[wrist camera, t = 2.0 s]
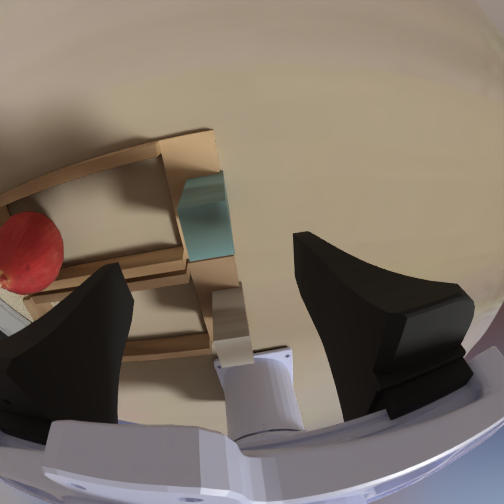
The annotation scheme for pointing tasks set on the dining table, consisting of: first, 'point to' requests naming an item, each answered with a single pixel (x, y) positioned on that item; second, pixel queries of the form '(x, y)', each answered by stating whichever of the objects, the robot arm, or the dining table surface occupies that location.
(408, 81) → the dining table surface
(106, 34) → the dining table surface
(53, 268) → the red round piece
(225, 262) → the lane empty
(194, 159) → the wooden divided tray
